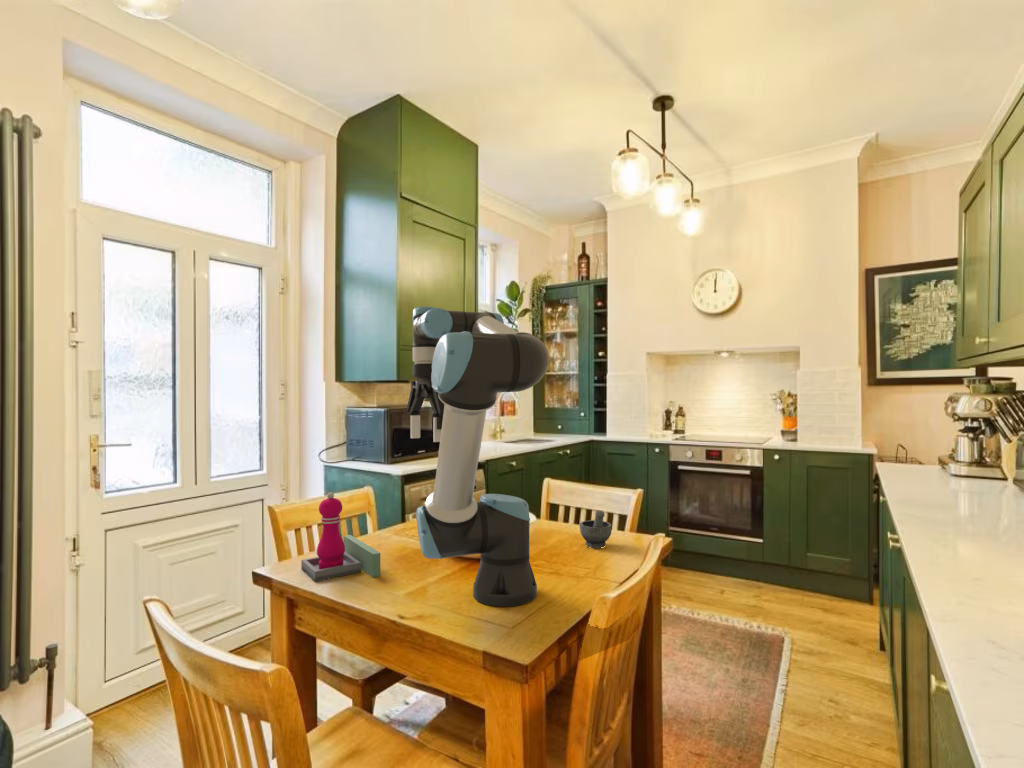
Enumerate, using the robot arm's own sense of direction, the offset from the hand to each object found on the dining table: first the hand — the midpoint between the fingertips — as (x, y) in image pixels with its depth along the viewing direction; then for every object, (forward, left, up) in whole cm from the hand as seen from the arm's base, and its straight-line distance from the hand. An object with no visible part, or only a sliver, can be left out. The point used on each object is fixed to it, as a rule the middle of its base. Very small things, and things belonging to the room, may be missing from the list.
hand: (426, 440), depth 148 cm
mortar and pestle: (-16, -50, -35) cm, 63 cm away
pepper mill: (+12, +23, -34) cm, 42 cm away
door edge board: (+11, +15, -35) cm, 39 cm away
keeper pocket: (+12, +23, -35) cm, 43 cm away
